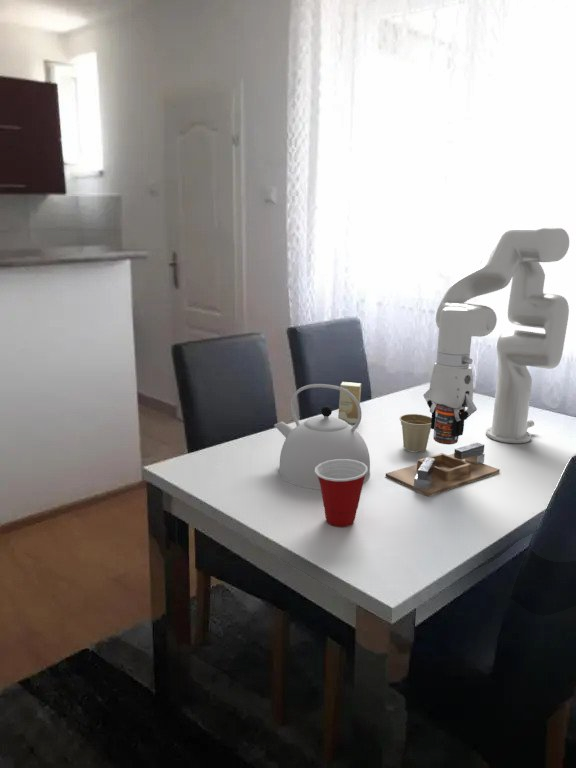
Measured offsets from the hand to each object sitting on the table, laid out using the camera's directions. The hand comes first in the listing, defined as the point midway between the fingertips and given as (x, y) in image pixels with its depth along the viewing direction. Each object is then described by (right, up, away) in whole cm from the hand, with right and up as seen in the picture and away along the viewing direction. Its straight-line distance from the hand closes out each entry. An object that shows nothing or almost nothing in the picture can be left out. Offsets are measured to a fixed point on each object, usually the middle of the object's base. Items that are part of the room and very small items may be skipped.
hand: (446, 431), depth 152 cm
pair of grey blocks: (+1, -11, +1) cm, 11 cm away
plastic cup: (-28, -17, -23) cm, 40 cm away
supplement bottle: (0, -3, +1) cm, 3 cm away
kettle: (-31, -11, +4) cm, 33 cm away
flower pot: (-4, -7, +21) cm, 22 cm away
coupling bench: (0, -11, +3) cm, 11 cm away
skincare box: (-20, 0, +44) cm, 48 cm away
